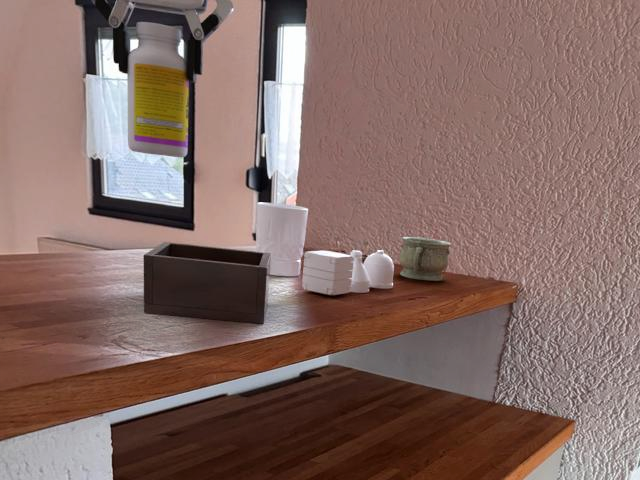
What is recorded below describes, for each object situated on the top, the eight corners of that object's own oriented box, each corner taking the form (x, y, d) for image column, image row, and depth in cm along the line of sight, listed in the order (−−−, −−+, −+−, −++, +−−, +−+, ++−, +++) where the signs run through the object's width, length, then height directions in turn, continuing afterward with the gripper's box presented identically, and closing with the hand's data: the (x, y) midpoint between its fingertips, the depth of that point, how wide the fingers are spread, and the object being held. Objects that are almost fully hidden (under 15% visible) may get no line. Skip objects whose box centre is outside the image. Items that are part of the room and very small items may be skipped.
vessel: (438, 284, 123) (443, 245, 121) (388, 276, 125) (393, 238, 123) (452, 277, 134) (457, 241, 131) (406, 270, 136) (410, 234, 133)
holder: (143, 312, 78) (143, 254, 76) (163, 292, 90) (164, 241, 88) (263, 324, 80) (267, 267, 77) (268, 302, 91) (271, 253, 89)
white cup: (243, 271, 113) (246, 202, 109) (267, 267, 119) (271, 202, 115) (289, 279, 110) (294, 209, 106) (311, 274, 117) (316, 208, 113)
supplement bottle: (196, 159, 84) (200, 31, 79) (140, 153, 80) (140, 17, 75) (173, 155, 89) (175, 34, 84) (119, 149, 85) (118, 21, 80)
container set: (332, 298, 99) (336, 257, 97) (300, 291, 101) (303, 250, 99) (398, 287, 116) (403, 251, 113) (369, 281, 118) (373, 245, 116)
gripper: (246, -96, 79) (238, 90, 86) (79, -124, 76) (85, 69, 84) (243, -119, 72) (235, 84, 79) (59, -151, 70) (68, 62, 77)
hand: (158, 75), depth 81 cm, fingers closed on supplement bottle, 6 cm apart
